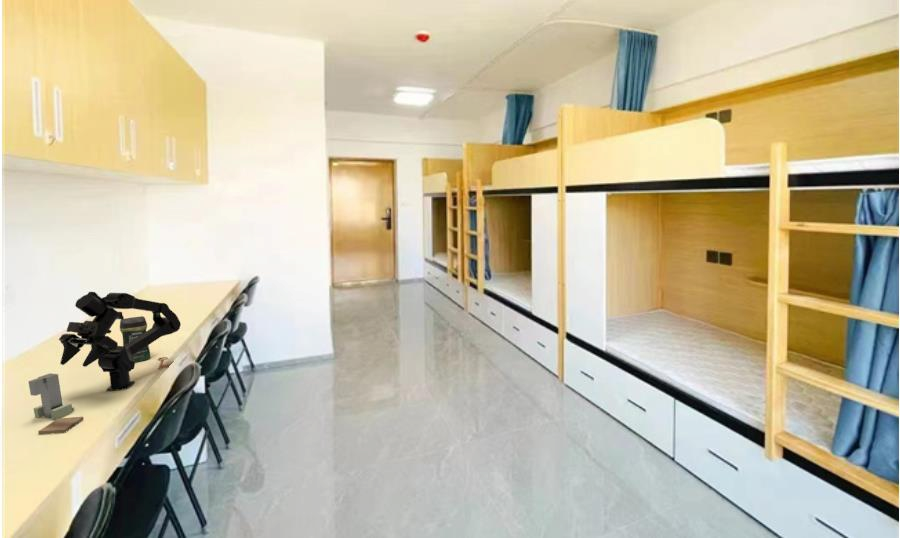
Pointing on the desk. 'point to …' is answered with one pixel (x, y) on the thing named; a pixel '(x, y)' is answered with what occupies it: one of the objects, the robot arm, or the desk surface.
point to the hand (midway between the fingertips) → (72, 365)
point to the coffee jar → (135, 335)
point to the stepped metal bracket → (47, 392)
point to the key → (162, 363)
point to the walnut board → (60, 425)
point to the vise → (55, 411)
